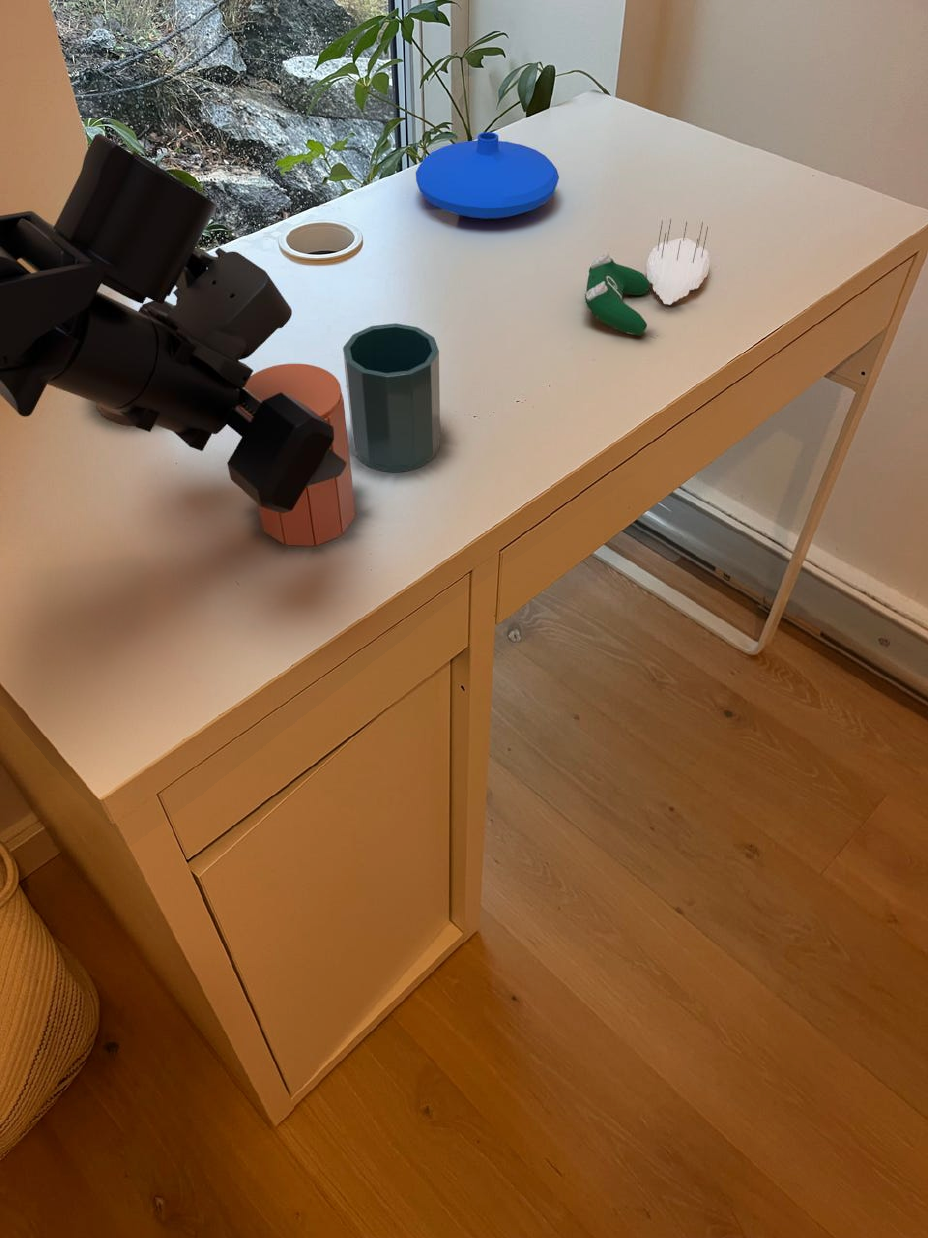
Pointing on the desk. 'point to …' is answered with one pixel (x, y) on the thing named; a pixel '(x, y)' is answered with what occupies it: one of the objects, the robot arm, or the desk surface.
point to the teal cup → (393, 396)
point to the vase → (487, 178)
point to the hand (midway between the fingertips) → (303, 437)
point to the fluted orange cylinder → (330, 501)
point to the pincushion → (677, 267)
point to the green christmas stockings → (615, 294)
